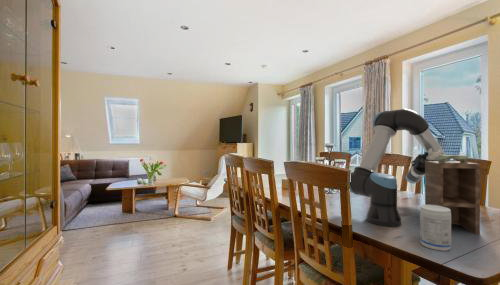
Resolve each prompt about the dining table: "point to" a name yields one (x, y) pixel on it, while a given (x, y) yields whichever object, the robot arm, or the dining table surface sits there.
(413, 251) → the dining table surface
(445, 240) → the supplement tub
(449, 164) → the shelf
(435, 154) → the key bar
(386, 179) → the robot arm
